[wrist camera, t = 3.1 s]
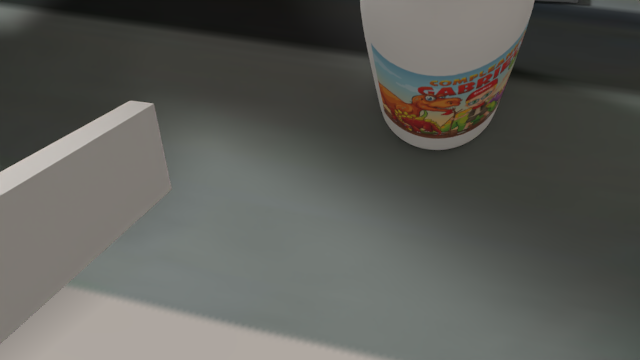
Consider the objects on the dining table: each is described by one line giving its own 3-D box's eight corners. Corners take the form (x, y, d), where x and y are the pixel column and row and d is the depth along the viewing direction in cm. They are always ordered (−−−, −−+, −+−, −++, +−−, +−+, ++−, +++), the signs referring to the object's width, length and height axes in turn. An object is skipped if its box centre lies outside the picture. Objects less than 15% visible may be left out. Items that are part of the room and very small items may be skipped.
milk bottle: (357, 102, 32) (262, -181, 13) (436, 28, 32) (455, -359, 13) (437, 176, 29) (461, -43, 11) (523, 96, 30) (698, -264, 11)
